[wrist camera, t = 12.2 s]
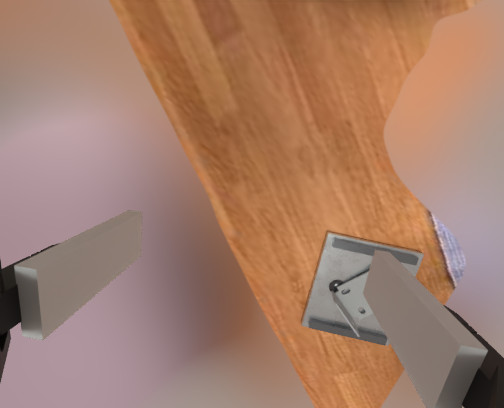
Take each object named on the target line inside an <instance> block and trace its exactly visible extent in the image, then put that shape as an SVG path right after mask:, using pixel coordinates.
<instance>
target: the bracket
mask: <svg viewBox="0 0 504 408" xmlns="http://www.w3.org/2000/svg"><path fill="white" fill-rule="evenodd" d="M368 273H369V271H367V272H365V273H363V274H361V275H359V276H357V277H355V278H353V279H351V280H349V281H347V282H345V283H343V284H341V285H339V286H337V289H338V291H336V292H335V293H334V292H333V291H331V292H332V296H333V300H334V303H335V305H336V307H337V308H338V309H339V311H340V312H341V314H342V315H343V316H344V318H345V319H346V321H347V322H348V323H349V325H350V326H351V328H352V329H353V331H354V332H355V333H356V335H357V336H358V337H360V335H359V332H358V329H357V326H356V323H355V322H354V320H353V319H354V318H355V317H358V319H359V320H360V319H362V318H365V317H367V316H369V315H371V314H374V313H373V311H372V310H371V308H370V306H369V304H368V302H367V301H366V299H365V297H364V295H363V290H364V287H365V283H366V280H367V276H368ZM347 288H348V289H350V291H349V292H347V293H345V294H342V293H341V292H342V290H344V289H347ZM359 307H363V308H364V310H365V312H364V313H360V311H359V310H358V308H359Z"/></svg>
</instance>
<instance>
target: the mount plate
mask: <svg viewBox="0 0 504 408" xmlns="http://www.w3.org/2000/svg"><path fill="white" fill-rule="evenodd" d="M375 250H380V251H386V252H390V253H391V254H392V255H393V256H394V257H395V258H396V259H397V260H398V261H399V262H400V263H401V264H402V265H403V266H404V267H405V268H406V269H407V270H408V271H409V272H410V273H411V274H412V275H413V276H414V277H415V276H416V273H417V271H418V268H419V266H420V263H421V261H422V258H423V256H424V254H423V253H422V252H420V251H416V250H411V249H407V248H402V247H398V246H393V245H389V244H384V243H379V242H375V241H370V240H366V239H361V238H357V237H352V236H347V235H343V234H338V233H334V232H329V231H327V233H326V236H325V240H324V243H323V247H322V250H321V254H320V257H319V261H318V264H317V268H316V271H315V275H314V278H313V281H312V285H311V288H310V292H309V295H308V299H307V302H306V306H305V309H304V313H303V316H302V320H301V325H302V326H305V327H309V328H312V329H316V330H321V331H325V332H329V333H334V334H338V335H342V336H347V337H351V338H355V339H360V340H364V341H368V342H373V343H377V344H381V345H389V343H390V342H389V340H388V338H387V336H386V335H385V333H384V331H383V329H382V328H381V326H380V324H379V322H378V320H377V319H376V317H375V315H374V314H371V315H369V316H367V317H365V318H362V319H360V320H359V319H358V317H355V318H354V319H353V320H354V322H355V323H356V326H357V329H358V332H359V335H360V337H358V336H357V335H356V333H355V332H354V331H353V329H352V328H351V326H350V325H349V323H348V322H347V321H346V319H345V318H344V316H343V315H342V314H341V312H340V311H339V309H338V308H337V307H336V305H335V303H334V300H333V296H332V292H331V291H333V292H334V293H335V292H336V291H338V289H337V286H339V285H341V284H343V283H345V282H347V281H349V280H351V279H353V278H355V277H357V276H359V275H361V274H363V273H365V272H367V271H369V269H370V266H371V262H372V259H373V255H374V252H375ZM349 291H350V289H348V288H347V289H344V290H342V292H341V293H342V294H345V293H347V292H349ZM358 310H359V311H360V313H364V312H365V310H364V308H363V307H359V308H358Z"/></svg>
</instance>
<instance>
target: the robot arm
mask: <svg viewBox="0 0 504 408" xmlns="http://www.w3.org/2000/svg"><path fill="white" fill-rule="evenodd" d="M141 242H142V212H139V211H133V210H128V211H126V212H124V213H122V214H120V215H118V216H116V217H114V218H112V219H110V220H108V221H105V222H103V223H101V224H99V225H97V226H95V227H93V228H91V229H89V230H87V231H85V232H83V233H80V234H78V235H76V236H74V237H72V238H70V239H68V240H66V241H64V242H62V243H59V244H56V245H52V246H49V247H47V248H45V249H43V250H41V251H40V252H37V253H35V254H33V255H31V257H30V256H29V257H26V258H24V259H22V260H20V261H18V262H16V263H14V264H12V265H9V266H7V267H5V268H3V269H1V261H0V382H1V378H2V373H3V369H4V365H5V361H6V357H7V352H8V348H9V344H10V340H11V337H10V329H11V328H13V327H14V326H15V325H17V324H18V323H20V322H21V329H22V336H24V337H29V338H34V339H39V340H44V339H45V338H46V337H47V336H49V335H50V334H51V333H52V332H53V331H54V330H56V329H57V328H58V327H59V326H60V325H61V324H63V323H64V322H65V321H66V320H67V319H68V318H70V316H72V315H73V314H74V313H75V312H76V311H78V310H79V309H80V308H81V307H82V306H83V305H85V304H86V303H87V302H88V301H89V300H90V299H92V298H93V297H94V296H95V295H96V294H97V293H98V292H100V291H101V290H102V289H103V288H104V287H105V286H107V285H108V284H109V283H110V282H111V281H112V280H114V279H115V278H116V277H117V276H118V275H119V274H120V273H122V272H123V271H124V270H125V269H126V268H127V267H129V266H130V265H131V264H132V263H133V262H134V261H136V260H137V259H138V258H139V257H140V256H141ZM363 295H364V297H365V299H366V301H367V302H368V304H369V306H370V308H371V310H372V311H373V313H374V315H375V317H376V319H377V320H378V322H379V324H380V326H381V328H382V329H383V331H384V333H385V335H386V336H387V338H388V340H389V342H390V344H391V345H392V347H393V349H394V351H395V353H396V354H397V356H398V358H399V360H400V362H401V363H402V365H403V367H404V369H405V370H406V372H407V374H408V376H409V378H410V379H411V381H412V383H413V385H414V387H415V388H416V390H417V392H418V394H419V395H420V397H421V399H422V401H423V403H424V405H425V406H426V408H462V406H463V407H464V408H504V358H503V357H502V356H501V355H500V354H499V353H498V352H497V351H496V350H495V349H494V348H493V347H492V346H490V345H489V344H488V343H487V342H486V341H485V340H484V339H483V338H482V337H481V336H480V335H479V334H477V332H476V331H475V330H474V329H473V328H472V327H471V326H469V325H468V323H467V322H466V321H464V320H463V319H462V318H461V317H460V316H459V315H458V314H457V313H455V312H454V311H452V310H451V309H449V308H448V307H446V306H445V305H442V304H441V303H440V302H439V301H438V300H437V299H436V298H435V297H434V296H433V295H432V294H431V293H430V292H429V291H428V290H427V289H426V288H425V287H424V286H423V285H422V284H421V283H420V282H419V281H418V280H417V279H416V278H415V277H414V276H413V275H412V274H411V273H410V272H409V271H408V270H407V269H406V268H405V267H404V266H403V265H402V264H401V263H400V262H399V261H398V260H397V259H396V258H395V257H394V256H393V255H392V254H391V253H390V252H386V251H380V250H375V252H374V255H373V259H372V262H371V266H370V269H369V273H368V276H367V280H366V283H365V287H364V290H363Z"/></svg>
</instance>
